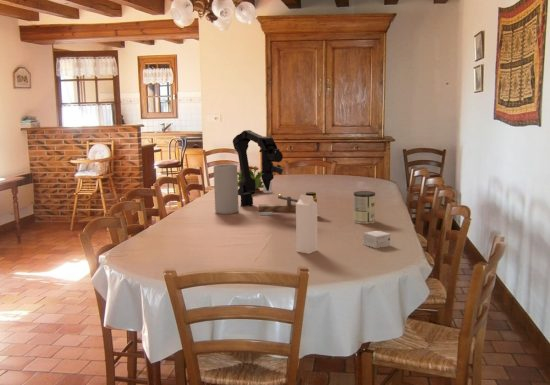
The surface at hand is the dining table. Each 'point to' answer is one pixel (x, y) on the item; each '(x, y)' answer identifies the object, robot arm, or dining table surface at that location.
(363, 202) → the coffee can
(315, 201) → the condiment
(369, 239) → the small box
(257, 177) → the potted flower
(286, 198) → the lever
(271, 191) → the cap block
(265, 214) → the rubber mat
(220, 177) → the cylinder vase
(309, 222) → the milk
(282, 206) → the plane body
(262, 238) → the dining table surface
